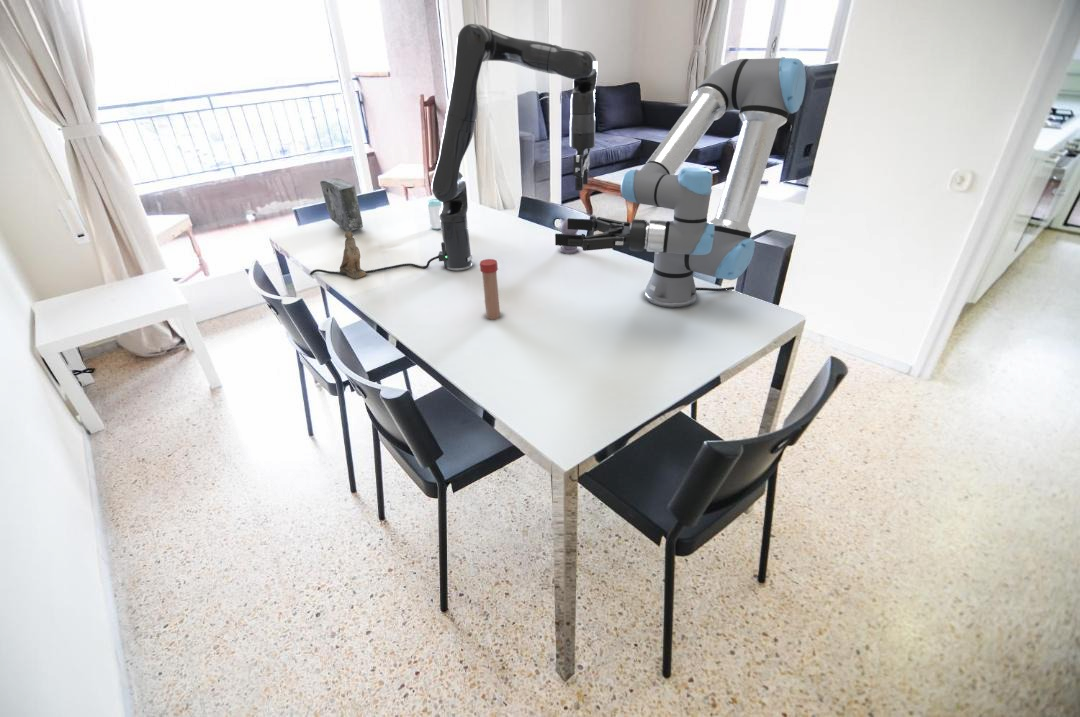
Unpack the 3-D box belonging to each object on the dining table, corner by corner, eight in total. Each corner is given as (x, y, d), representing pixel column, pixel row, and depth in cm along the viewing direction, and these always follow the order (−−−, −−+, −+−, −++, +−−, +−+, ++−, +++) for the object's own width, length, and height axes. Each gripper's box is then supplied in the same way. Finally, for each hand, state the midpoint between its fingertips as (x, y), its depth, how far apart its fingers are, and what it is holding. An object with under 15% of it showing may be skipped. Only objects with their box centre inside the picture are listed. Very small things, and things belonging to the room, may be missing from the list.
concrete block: (368, 232, 220) (358, 186, 209) (348, 237, 216) (336, 189, 205) (349, 220, 239) (338, 176, 228) (330, 223, 234) (319, 179, 224)
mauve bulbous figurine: (584, 250, 191) (584, 219, 185) (571, 255, 186) (571, 223, 180) (567, 245, 196) (567, 215, 190) (554, 251, 191) (553, 220, 185)
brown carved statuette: (368, 281, 178) (362, 235, 166) (353, 285, 175) (347, 238, 163) (352, 266, 184) (346, 221, 172) (338, 270, 181) (331, 224, 169)
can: (445, 229, 220) (441, 202, 214) (429, 230, 220) (425, 202, 214) (447, 224, 226) (444, 198, 220) (432, 225, 226) (428, 198, 220)
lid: (500, 268, 139) (500, 260, 138) (491, 274, 135) (490, 266, 134) (486, 265, 141) (485, 258, 140) (477, 271, 137) (476, 263, 136)
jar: (502, 314, 146) (498, 262, 138) (495, 320, 143) (490, 267, 135) (491, 312, 148) (486, 260, 139) (483, 317, 145) (478, 265, 136)
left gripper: (574, 127, 153) (574, 181, 162) (564, 133, 142) (565, 192, 150) (598, 127, 152) (597, 182, 160) (590, 133, 140) (589, 192, 148)
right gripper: (640, 268, 113) (550, 262, 118) (649, 235, 133) (572, 231, 138) (643, 236, 109) (549, 230, 114) (652, 207, 129) (572, 204, 134)
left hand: (581, 186), depth 155 cm, fingers open, 8 cm apart
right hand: (561, 231), depth 126 cm, fingers open, 13 cm apart
